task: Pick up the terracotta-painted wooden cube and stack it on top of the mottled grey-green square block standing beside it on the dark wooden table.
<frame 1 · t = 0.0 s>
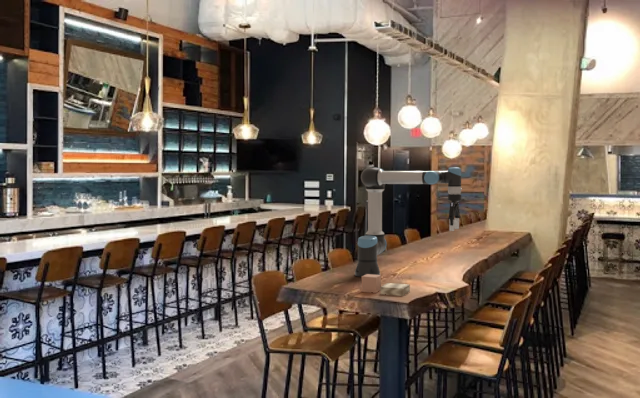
hand: (454, 230, 368), 28 cm above the table, fingers open, 13 cm apart
mottled grey-green square block: (395, 293, 324), on the table
terracotta cube: (371, 290, 329), on the table
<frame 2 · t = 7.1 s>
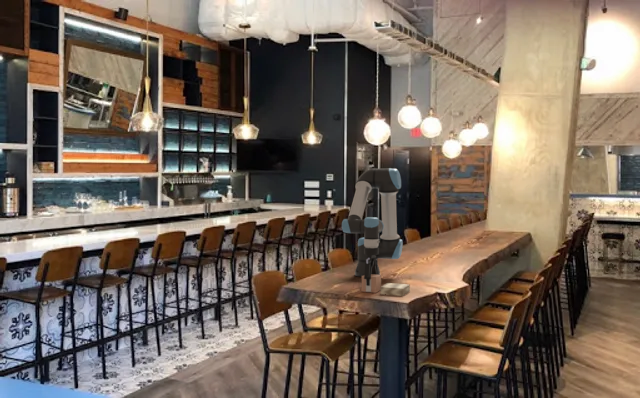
hand: (371, 290, 329), 0 cm above the table, fingers closed on terracotta cube, 8 cm apart
terracotta cube: (371, 290, 329), on the table, touching gripper
everything else where it was.
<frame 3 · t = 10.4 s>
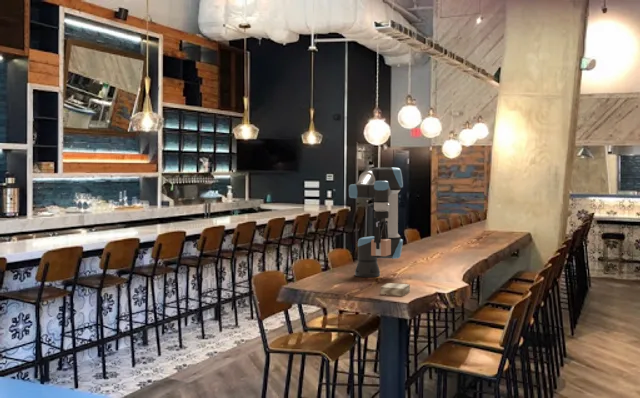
hand: (381, 254, 326), 20 cm above the table, fingers closed on terracotta cube, 8 cm apart
terracotta cube: (381, 254, 326), point 19 cm above the table, touching gripper
everything else where it was.
when the fingers open (7 cm above the table, at t = 14.1 s): terracotta cube drops 3 cm, resting on mottled grey-green square block.
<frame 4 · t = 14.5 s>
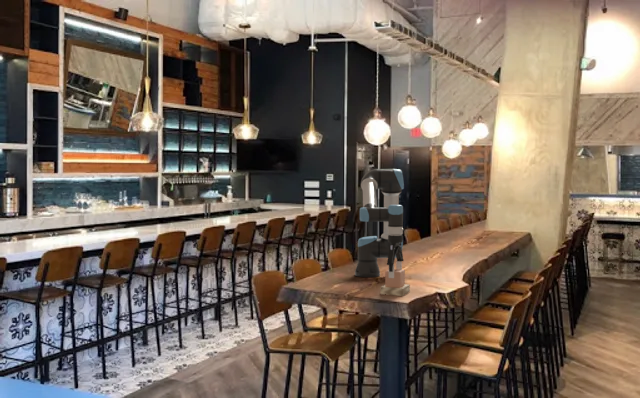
hand: (395, 275, 323), 9 cm above the table, fingers open, 13 cm apart
mottled grey-green square block: (395, 293, 324), on the table, touching terracotta cube
terracotta cube: (395, 285, 323), point 3 cm above the table, touching mottled grey-green square block
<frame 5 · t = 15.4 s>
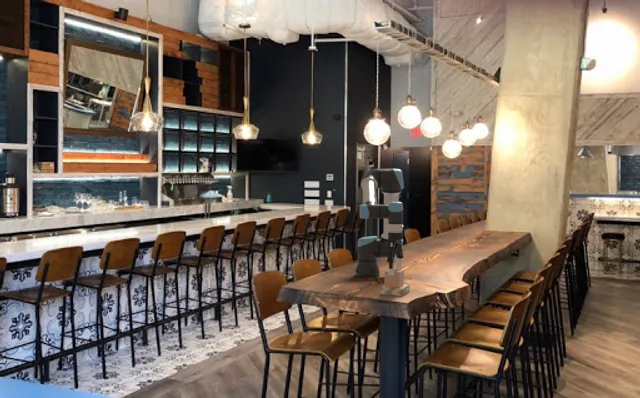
hand: (395, 272, 323), 10 cm above the table, fingers open, 13 cm apart
nothing on the table moved.
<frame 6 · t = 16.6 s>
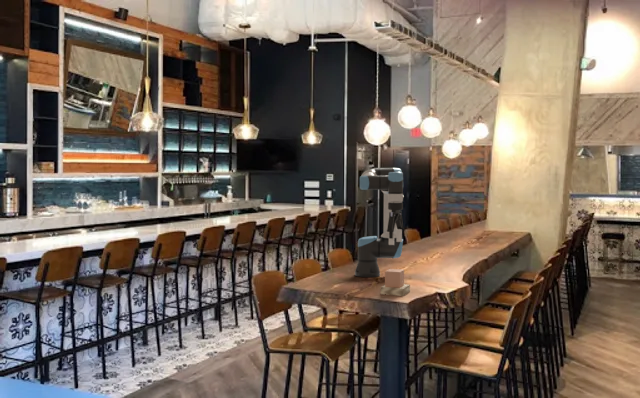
hand: (395, 243, 323), 26 cm above the table, fingers open, 13 cm apart
nothing on the table moved.
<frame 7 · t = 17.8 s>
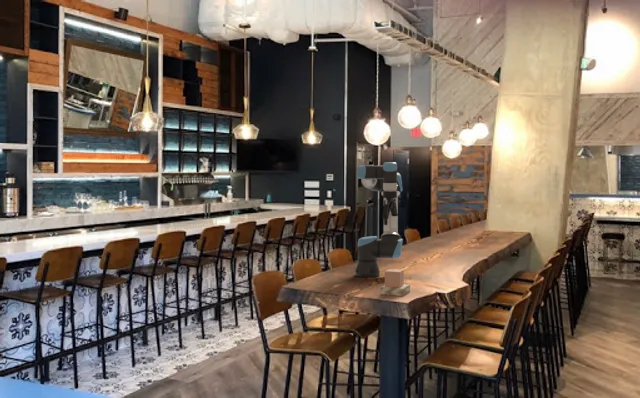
hand: (389, 229, 343), 31 cm above the table, fingers open, 13 cm apart
mottled grey-green square block: (395, 293, 324), on the table
terracotta cube: (394, 285, 323), point 3 cm above the table
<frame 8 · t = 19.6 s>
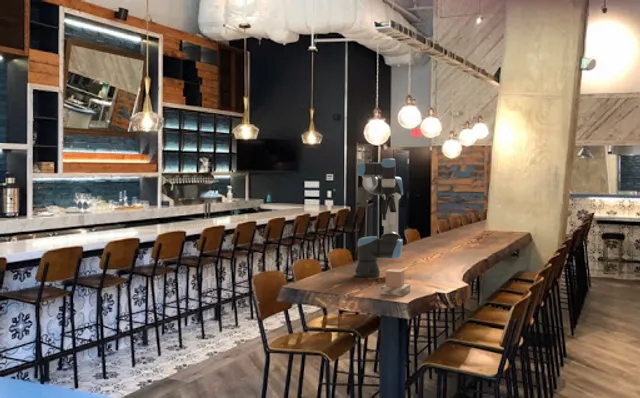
hand: (388, 225, 348), 33 cm above the table, fingers open, 13 cm apart
mottled grey-green square block: (395, 293, 324), on the table, touching terracotta cube
terracotta cube: (395, 285, 324), point 3 cm above the table, touching mottled grey-green square block
at the end: terracotta cube inside the target area on the mottled grey-green square block (0.4 cm from its centre), point 4.0 cm above the mottled grey-green square block's base; terracotta cube tilted 0°; the gripper is holding nothing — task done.
